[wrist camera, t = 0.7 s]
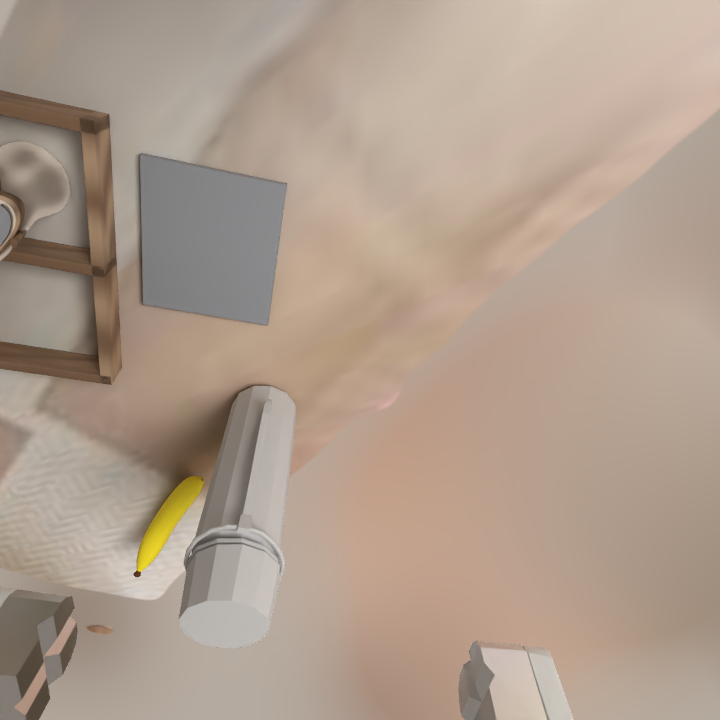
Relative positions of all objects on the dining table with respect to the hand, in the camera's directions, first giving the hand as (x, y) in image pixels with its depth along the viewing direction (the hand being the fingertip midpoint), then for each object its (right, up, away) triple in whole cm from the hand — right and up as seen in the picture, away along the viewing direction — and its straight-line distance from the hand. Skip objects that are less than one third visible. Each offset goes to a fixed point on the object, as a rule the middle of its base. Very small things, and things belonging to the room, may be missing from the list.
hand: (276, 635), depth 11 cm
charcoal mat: (-12, +16, +37) cm, 42 cm away
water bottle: (-9, +1, +47) cm, 48 cm away
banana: (-21, -12, +55) cm, 60 cm away
